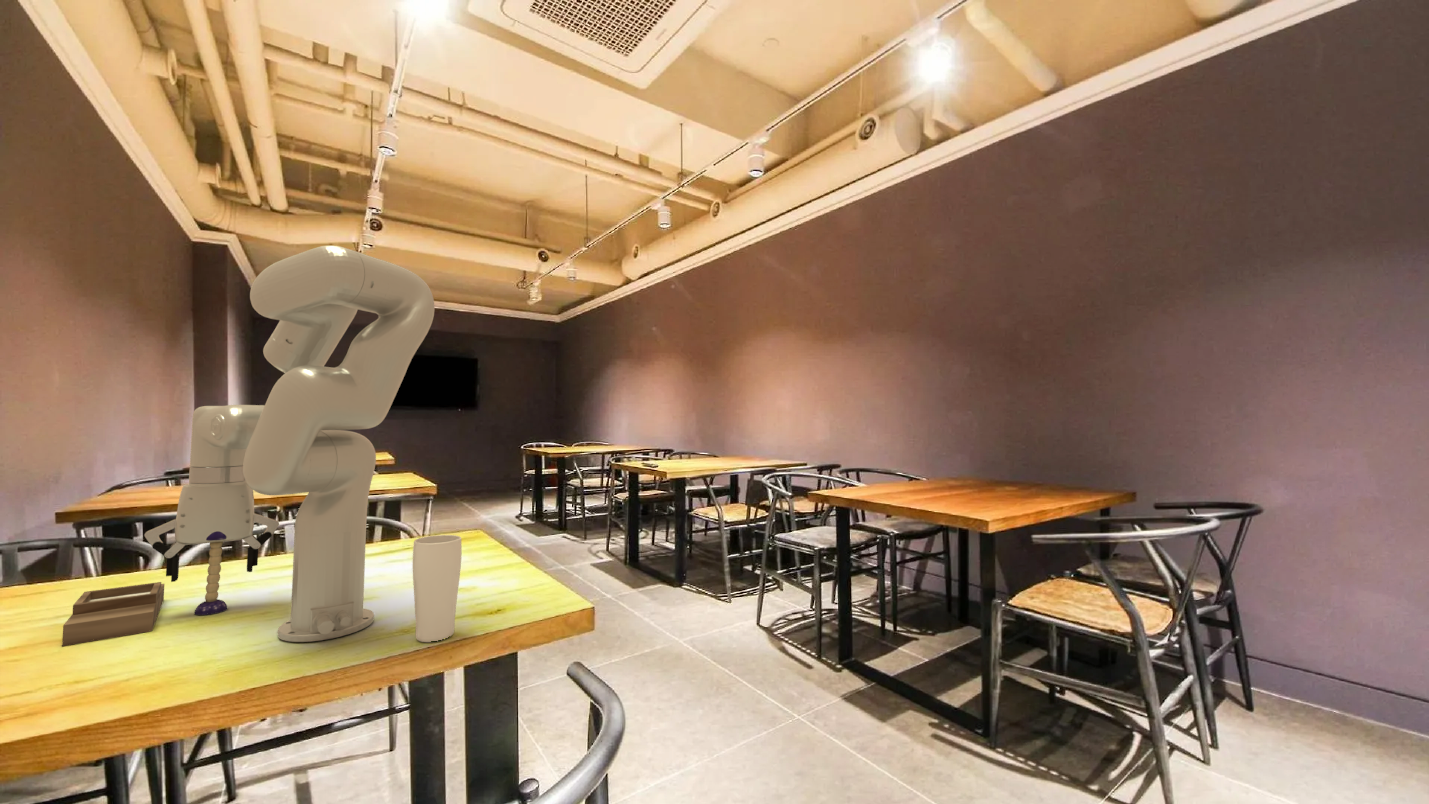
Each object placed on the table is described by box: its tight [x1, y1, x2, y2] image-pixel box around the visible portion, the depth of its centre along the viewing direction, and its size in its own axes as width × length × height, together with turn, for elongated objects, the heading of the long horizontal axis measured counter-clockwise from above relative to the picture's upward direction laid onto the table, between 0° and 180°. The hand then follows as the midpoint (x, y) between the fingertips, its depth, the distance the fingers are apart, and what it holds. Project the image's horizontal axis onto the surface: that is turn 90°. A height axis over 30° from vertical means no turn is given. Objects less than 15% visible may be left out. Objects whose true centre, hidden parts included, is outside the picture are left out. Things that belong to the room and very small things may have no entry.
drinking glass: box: [412, 534, 462, 643], centre depth 85 cm, size 7×7×15 cm
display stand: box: [61, 581, 165, 647], centre depth 91 cm, size 20×9×4 cm, turn 42°
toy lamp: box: [194, 531, 228, 616], centre depth 95 cm, size 5×5×17 cm
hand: (213, 575), depth 95 cm, fingers open, 9 cm apart
